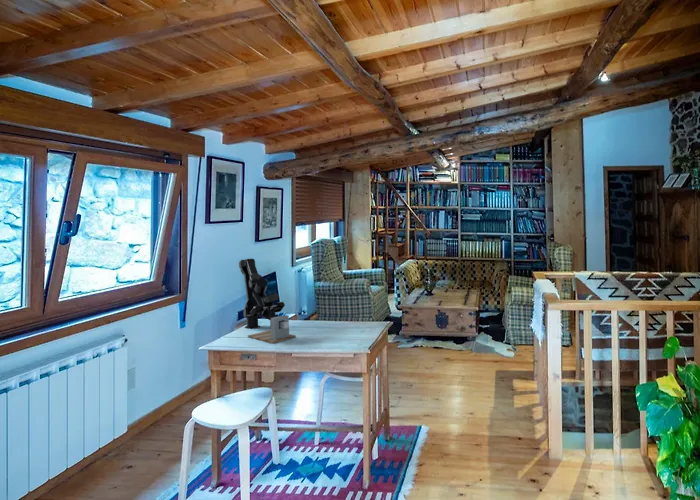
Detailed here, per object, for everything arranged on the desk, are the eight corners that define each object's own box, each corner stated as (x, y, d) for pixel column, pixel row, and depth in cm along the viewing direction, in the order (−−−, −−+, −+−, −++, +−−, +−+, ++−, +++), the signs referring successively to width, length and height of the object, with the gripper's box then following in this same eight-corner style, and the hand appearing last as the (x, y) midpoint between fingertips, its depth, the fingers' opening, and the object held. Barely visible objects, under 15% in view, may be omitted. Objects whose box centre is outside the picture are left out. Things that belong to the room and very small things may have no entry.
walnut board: (247, 337, 255) (247, 335, 255) (270, 331, 266) (270, 329, 266) (272, 343, 242) (272, 341, 242) (295, 337, 253) (295, 335, 253)
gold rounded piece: (272, 329, 249) (271, 318, 249) (280, 327, 253) (279, 317, 253) (282, 331, 244) (282, 320, 243) (290, 329, 248) (290, 319, 247)
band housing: (270, 338, 247) (270, 318, 247) (284, 335, 254) (284, 314, 253) (275, 339, 245) (274, 318, 244) (289, 336, 252) (288, 315, 251)
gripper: (252, 290, 246) (267, 316, 240) (282, 286, 260) (296, 309, 253) (244, 304, 252) (257, 329, 246) (273, 299, 266) (287, 322, 259)
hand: (275, 322), depth 251 cm, fingers closed, pressing on gold rounded piece
